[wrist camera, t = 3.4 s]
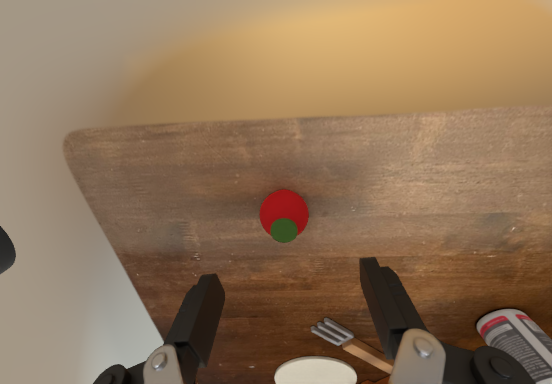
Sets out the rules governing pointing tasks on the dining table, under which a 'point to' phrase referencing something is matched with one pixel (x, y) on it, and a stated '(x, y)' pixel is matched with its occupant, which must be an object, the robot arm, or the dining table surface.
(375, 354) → the fork
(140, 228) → the dining table surface
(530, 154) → the dining table surface
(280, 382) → the plate
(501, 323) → the pill bottle
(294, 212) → the strawberry
